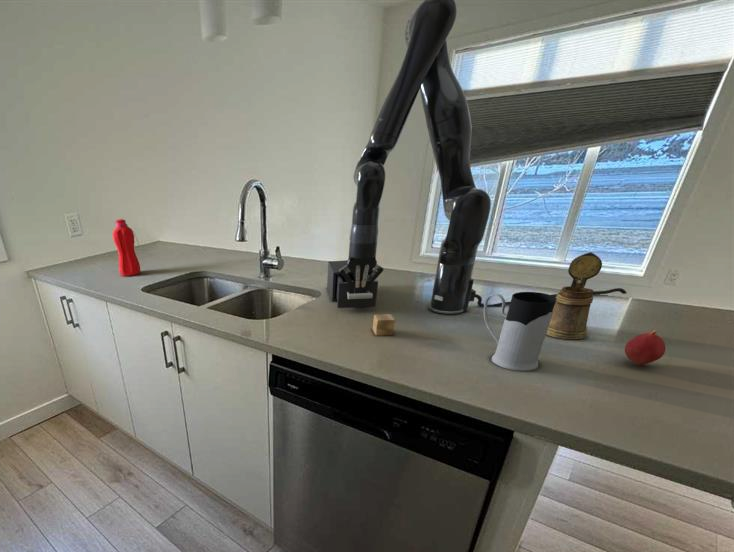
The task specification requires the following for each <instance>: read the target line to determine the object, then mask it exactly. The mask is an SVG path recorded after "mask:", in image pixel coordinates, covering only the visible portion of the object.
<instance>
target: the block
mask: <svg viewBox="0 0 734 552" xmlns="http://www.w3.org/2000/svg"><path fill="white" fill-rule="evenodd" d="M394 327H395V318H394V317H393V315H392V314H390V313H385V314H384V313H383V314H373V323H372V331H373V333H374V335H375V336H393V335H394Z"/></svg>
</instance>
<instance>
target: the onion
mask: <svg viewBox="0 0 734 552" xmlns="http://www.w3.org/2000/svg"><path fill="white" fill-rule="evenodd" d="M665 352H666V344H665V340H663V338H662V337H660V336H659V335H658V330H655V329H652V330H651V331H648V332H645V333H641V334H637V335H636V336H634V337H632V338H631V339H629V340H628V341H627V343H626V344H625V346H624V353H625V356H626V357H627V359H628V360H629V361H631V362H632V363H633V364H634V366H638V367H640V366H644V365H646V364H651V363H653V362H656V361H658V360H659V359H661V358H662V357H664V355H665Z"/></svg>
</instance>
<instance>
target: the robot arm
mask: <svg viewBox="0 0 734 552" xmlns="http://www.w3.org/2000/svg"><path fill="white" fill-rule="evenodd" d="M457 13H458V9H457V3H456V0H423V1H421V3H420V4H419V5H418V6H417V7H416V8H415V9H414V11H413V12H412V13H411V15H410V16H409V17H408V20H407V21H406V25H405V29H404V41H405V46H406V52H405V55H404V58H403V60H402V63H401V66H400V68H399V71H398V72H397V75H396V78H395V80H394V82H393V83H392V85H391V87H390V89H389V91H388V93H387V96H386V97H385V99H384V102H383V103H382V105H381V108H380V109H379V112H378V115H377V117H376V120H375V122H374V124H373V127H372V130H371V133H370V136H369V138H368V141H367V143H366V145H365V147H364V149H363V151H362V153H361V155H360V157H359V160H358V162H357V164H356V166H355V168H354V172H353V182H354V184H355V186H356V197H355V199H356V200H355V202H354V204H353V207H352V216H351V217H352V219H351V227H350V232H349V248H348V259H347V260H348V261H347V263H346V266H344V267H343V268H340V269H339V271H340V273H341V275H342V276H343V277H344V278H345V280H346V281H347V282H348V284H349V285H350V286H354V294H358V293H364V289H365V286H367V285H371V284H372V283H373V282H374V281H376V280H377V279H378V277H380V276H381V274H382V273H383V272H384V268H383V266H382V265H380V264H378V261H377V259H376V257H377V249H378V248H377V247H378V239H379V219H380V205H381V201H382V199H383V193H384V189H385V185H386V184H385V183H386V168H385V164H386V161H387V160H388V157H389V155H390V153H392V152H393V151H394V149H395V148H396V146H397V145H398V142H399V139H400V137H401V135H402V133H403V130H404V128H405V125H406V123H407V120H408V119H409V116H410V113H411V111H412V108H413V106H414V103H415V101H416V98H417V96H418V94H419V92H420V98H421V104H422V110H423V115H424V118H425V119H424V121H425V125H426V130H427V135H428V138H429V143H430V146H431V150H432V154H433V158H434V162H435V166H436V168H437V171H438V175H439V179H440V187H441V188H440V189H441V195H442V206H443V213H444V216H445V218H446V219H447V220H448V221H449V223H448V228H447V233H446V235H445V237H444V239H442V241H441V243H440V248H439V254H438V259H437V265H436V271H435V276H434V282H433V286H432V293H431V299H430V304H429V310H430V311H432V312H434V313H437V314H441V315H459V314H462V313H467V312H468V308H469V303H470V302H474V301H475V298H476V299H477V302H476V303H477V306H478V307H481V308H484V304H485V303H483V302H482V301H483V298H482V296H481V295H479V294H477V290H475V289H474V288H473V285H474V282H475V281H474V279H473V278H472V276H473V271H474V266H475V261H476V257H477V253H478V249H479V246H480V244H481V242H482V241H483V238H484V236H485V232H486V228H487V225H488V221H489V218H490V217H489V216H490V213H491V209H492V208H491V207H492V206H491V205H492V200H491V196H490V195H489V194H488V193H487V192H486V191H485V190H483V189H481V188H477V186H476V184H475V181H474V177H473V172H472V168H471V150H472V149H471V148H472V140H473V139H472V138H473V129H472V128H473V127H472V119H471V113H470V108H469V103H468V100H467V96H466V95H465V92H464V90H463V87H462V86H461V83H460V82H459V80H458V78H457V77H456V74H455V73H454V71H453V69H452V65H451V61H450V56H449V50H448V49H449V48H448V43H447V42H448V41H447V39H448V36H449V35H450V34H451V32H452V30H453V29H454V26H455V24H456V20H457ZM348 268H349V270H350V271H351V273H352V274H353V275H354V281H352V280H351V279H350V277H349V276H348V275H347V273H348ZM372 270H374V272H373V273H372V274H371V275H370V277H369V278H368V279H367V275H368V274H369V273H370V272H371V271H372ZM360 275H361V279H360ZM616 292H619V293H621V294H623V295H626V294H628V293H627V290H625V289H624V288H620V287H615V288H611V289H607V290H593V295H607V294H612V293H616ZM557 294H558V293H553V294H551V295H552V296H554V297H556V296H557ZM510 302H511V301H505V306H510ZM493 307H494V308H496V307H497V308H499V307H502V302H498V303H493V304H487V308H493Z"/></svg>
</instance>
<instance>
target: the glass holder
mask: <svg viewBox="0 0 734 552" xmlns="http://www.w3.org/2000/svg"><path fill="white" fill-rule="evenodd" d="M552 295H553V294H548V293H545V292H538V291H520V292H515V293H513V294H512V296H511V299H510V301H509V302H510V305H508V310H507V313H505V309H506V305H505V302H506V299H505V298H504V296H502V295H501V294H500V293H494V294H490V295H488V297H486V299H485V301H484V303H483V304H484V307H483V320H484V323H485V326H486V327H487V329H488V331H489V332H490V334H491V335H492V337H493V338H494V339H495V341H496V344H497V346H496V350H495V352H494V354H493V355H492V357H491V361H492V363H493V364H495V365H497V366H498V367H501V368H504V369H507V370H512V371H519V372H521V371H522V372H529V371H534V370H536V369H538V367H539V360H538V359H539V356H540V354H541V350H542V348H543V345H544V342H545V339H546V336H547V334H546V333H547V330H548V327H549V324H550V321H551V318H552V315H553V313H552V312H553V309H554V306H555V303H556V300H557V299H556V297H554V296H552ZM492 297H497V298H499V299H500V300H501V303H502V306H501V310H500V314H501V315H502V316H503V317H504V322H503V324H502V327H501V331H500V335H499V337H498V336H497V334H496V333H495V332H494V330H493V328H492V326H491V324H490V322H489V319H488V318H489V317H488V312H487V311H488V310H487V309H488V307H487V305H489V304H488V303H489V300H490V298H492Z"/></svg>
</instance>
